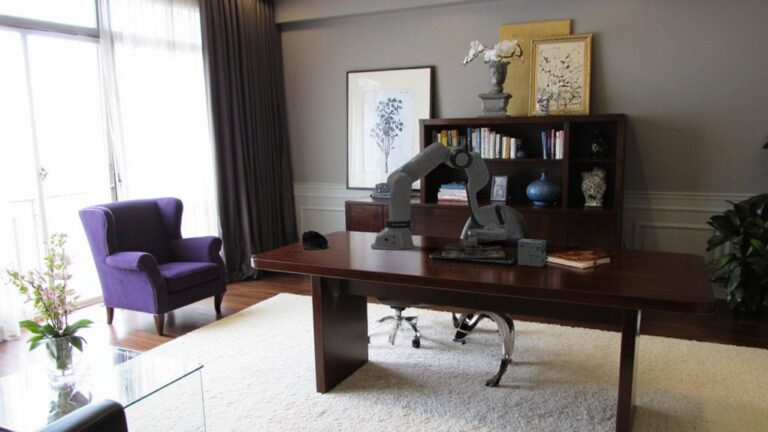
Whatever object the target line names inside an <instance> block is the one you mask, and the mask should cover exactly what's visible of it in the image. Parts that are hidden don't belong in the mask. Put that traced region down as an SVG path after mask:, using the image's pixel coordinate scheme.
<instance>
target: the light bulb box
mask: <svg viewBox="0 0 768 432" xmlns="http://www.w3.org/2000/svg"><path fill="white" fill-rule="evenodd" d="M546 246H547V241H546V240H545V239H531V238H530V239H529V238H528V239H527V238H521V239H519V240H518V241H517V264H518V265H519V266H520V265H521V266H530V267H539V268H541V267H544V266H545V265H546V264H547V263H546V262H547V261H546V259H547V253H546V251H547V247H546Z"/></svg>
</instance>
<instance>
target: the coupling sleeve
mask: <svg viewBox="0 0 768 432" xmlns="http://www.w3.org/2000/svg"><path fill="white" fill-rule="evenodd" d="M470 230H471V229H470ZM467 232H468V235H467V245H478V238H477V231H474V230H471V231H468V230H467Z"/></svg>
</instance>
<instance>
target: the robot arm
mask: <svg viewBox="0 0 768 432" xmlns="http://www.w3.org/2000/svg"><path fill="white" fill-rule="evenodd" d="M442 163H443V164H445V165H447V166H448V167H450V168H453V169H456V170H463V169H464V170H465V172H466V176H467V181H468V182H467V183H466V185H465V192H466V193H465V194H466V199H467V202H468V208H469V215H470V221H471V224H472V225H473V226H475V227H477V228H472V229H471V228H470V229H469V230H467V231H466V233H467V236H468V231H471V230H474V231H477V239H484V240H486V241H488V242H494V241H506V240H508V239H507V238H508V230H509V227H508V224H507V222H506V221H507V217H506V212H505V210H504V209H503V207H501V206H500V205H498V204H495V205H489V206H485V207H479V205H478V200H477V193H478V192H479V191H480V190H482V188H484V187H485V186H487V184H488V182H489V181H490V173H489V169H488V167H487V165H486V163H485V160H484V159H483V157H482V155H481V154H480V152H477V151H468V150H466V149H464V148H462V147H460V146H456V145H445V144H444V143H443V142H441V141H436V142H433V143H431V144H430V145H428V146H426V147H425V148H424V149H422V150H421V151H420V152H418V153H417V154H416V155H415V156H413V158H411V159H410V160H409V161H407V162H405V163H404V164H402V165H401V166H399V167H397V169H396V170H394V171H392V172H391V173H390V174H389V175H388V176H387V178H386V185H387V188H388V189H389V191H390V192H389V193H390V194H389V204H388V215H389V216H388V217H389V219H386V220H385V227H384V228H383V229H382V230H380V232H378V233H377V234H376V236H375V240H374V243H372V244H371V245H370V248H371V249H372V250H388V251H389V250H393V251H400V250H406V249H410V248H411V249H412V248H414V247H415V244H414V241H413V235H412V234H413V233H412V228H413V225H412V224H413V223H412V219H411V201H412V193H413V192H412V190H413V189H412V188H413V184H414V183H416V182H417V181H419V180H421V179H422V178H424V177H426V176H427V175H428V174H429V173H430V172H431V171H432V170H434V169H435V168H437V167H438V166H439V165H440V164H442ZM481 227H483V229H482V228H481Z"/></svg>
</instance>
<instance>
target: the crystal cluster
mask: <svg viewBox="0 0 768 432" xmlns="http://www.w3.org/2000/svg"><path fill="white" fill-rule="evenodd" d="M301 240H302V242H301V243H302V247H303V248H304V249H305V250H312V251H313V250H315V251H316V250H318V251H319V250H321V249H324V248H326V247H328V246H329V241H328V240H327V238H326V237H325V236H324V235H323V234H322V233H320V232H318V231H315V230H308V231H304V232H303V233H302V237H301Z"/></svg>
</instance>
